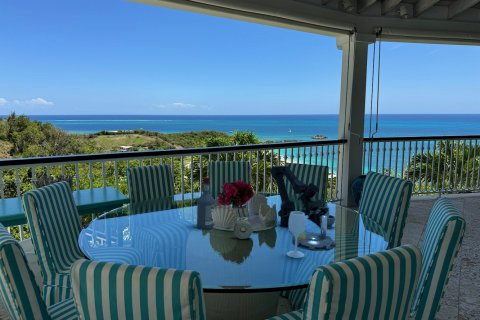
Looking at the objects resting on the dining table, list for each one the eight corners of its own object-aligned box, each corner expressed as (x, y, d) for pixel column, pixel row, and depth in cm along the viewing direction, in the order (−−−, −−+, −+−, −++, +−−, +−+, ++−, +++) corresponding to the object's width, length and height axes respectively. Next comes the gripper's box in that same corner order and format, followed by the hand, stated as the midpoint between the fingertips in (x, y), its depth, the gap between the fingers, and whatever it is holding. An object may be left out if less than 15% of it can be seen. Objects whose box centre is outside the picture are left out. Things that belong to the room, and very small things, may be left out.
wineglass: (284, 251, 188) (286, 210, 186) (302, 251, 189) (304, 210, 187) (288, 258, 179) (290, 215, 177) (306, 258, 180) (308, 215, 178)
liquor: (194, 227, 224) (195, 178, 221) (203, 224, 232) (204, 176, 229) (207, 230, 220) (209, 179, 217) (215, 226, 228) (217, 177, 225)
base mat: (311, 253, 187) (311, 252, 187) (283, 240, 206) (283, 239, 206) (343, 246, 199) (343, 246, 199) (315, 234, 218) (315, 234, 218)
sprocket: (311, 252, 187) (312, 225, 185) (283, 239, 206) (284, 214, 205) (344, 245, 198) (345, 220, 197) (315, 233, 218) (316, 210, 217)
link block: (296, 239, 200) (296, 231, 200) (296, 237, 204) (296, 230, 203) (305, 240, 199) (305, 232, 199) (305, 238, 203) (306, 231, 202)
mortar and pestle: (335, 230, 229) (336, 210, 228) (319, 228, 231) (320, 209, 229) (333, 225, 240) (334, 206, 239) (318, 224, 242) (319, 205, 240)
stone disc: (233, 239, 206) (233, 221, 205) (233, 237, 209) (234, 219, 208) (252, 240, 205) (252, 222, 204) (252, 238, 209) (253, 220, 208)
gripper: (301, 195, 206) (314, 220, 198) (327, 193, 215) (340, 216, 207) (292, 207, 214) (304, 231, 205) (317, 204, 223) (329, 227, 215)
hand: (320, 226), depth 208 cm, fingers closed
